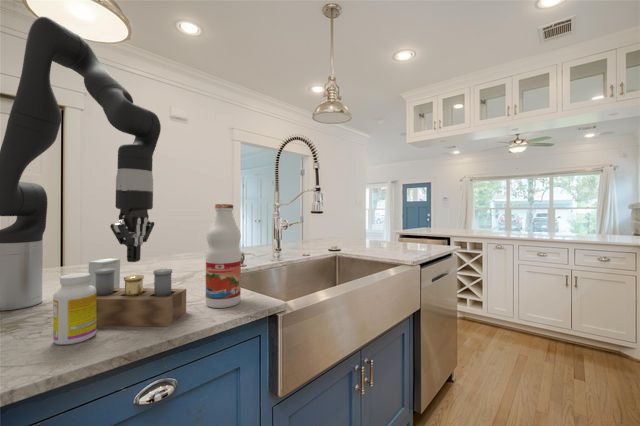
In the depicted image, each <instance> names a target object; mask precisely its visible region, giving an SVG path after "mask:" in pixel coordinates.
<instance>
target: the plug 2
mask: <svg viewBox="0 0 640 426" xmlns="http://www.w3.org/2000/svg"><path fill="white" fill-rule="evenodd" d="M152 272H153V275H154V277H153V279H154V283H153V285H154V287H153V288H154V297H167V296H169V295H171V289H172V273H173V269H171V268H161V269H160V268H159V269H156V270H153V271H152Z"/></svg>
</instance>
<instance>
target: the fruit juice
mask: <svg viewBox="0 0 640 426" xmlns="http://www.w3.org/2000/svg"><path fill="white" fill-rule="evenodd" d="M214 208H215V209H214V210H215V214H214V217H213V220H212V221H211V222H212V223H211V225H210V227H209V229H207V233H206V242H207V245H208V247H207V250H206V254H205V304H206V306H207V307H209V308H213V309H224V308H230V307H234V306H237V305H238V304H239V303H240V301H241V295H242V294H241V290H242V289H241V288H242V287H241V285H242V284H241V283H242V282H241V281H242V277H241V276H242V275H241V273H242V270H241V269H242V252H241V248H240V245H239V244H240V241H241V230H240V229H239V228H238V226H237V223H236V220H235V217H234V214H233V210H234V204H233V203H231V204H230V203H229V204H228V203H227V204H226V203H225V204H224V203H221V204H220V203H216V204H214Z"/></svg>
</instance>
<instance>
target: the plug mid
mask: <svg viewBox="0 0 640 426" xmlns="http://www.w3.org/2000/svg"><path fill="white" fill-rule="evenodd" d="M144 278H145V276H144V275H143V274H132V275H126V276H124V277H123V281H124V288H125V296H139V295H141V294H143V287H144Z"/></svg>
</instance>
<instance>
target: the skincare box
mask: <svg viewBox="0 0 640 426" xmlns="http://www.w3.org/2000/svg"><path fill="white" fill-rule="evenodd" d="M105 268H115V272H114V288H121V287H120V284H121V283H120V280H121V277H120V276H121V259H120V258H111V257H110V258H103V259H96V260H93V261H88V273H89V274H90V281H89V285H92V286H94V287H95V288H96V274H95V270H98V269H105Z"/></svg>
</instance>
